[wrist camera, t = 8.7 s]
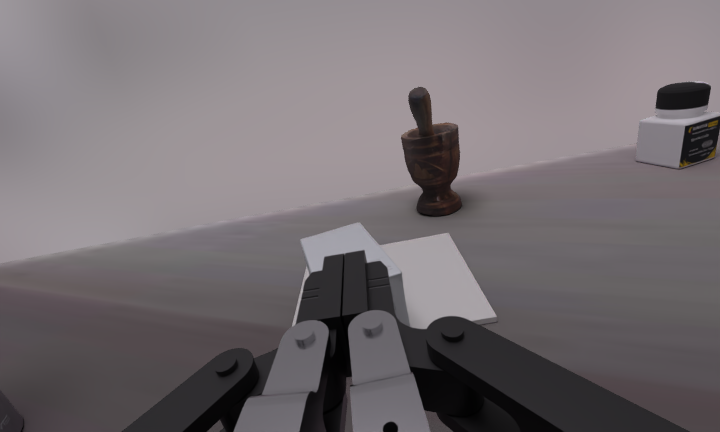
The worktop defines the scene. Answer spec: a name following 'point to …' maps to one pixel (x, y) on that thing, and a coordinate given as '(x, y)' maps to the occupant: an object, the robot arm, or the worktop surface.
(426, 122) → the mortar and pestle
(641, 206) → the worktop surface
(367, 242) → the supplement box
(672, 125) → the medicine bottle
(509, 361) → the robot arm
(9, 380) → the worktop surface
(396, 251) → the mat
